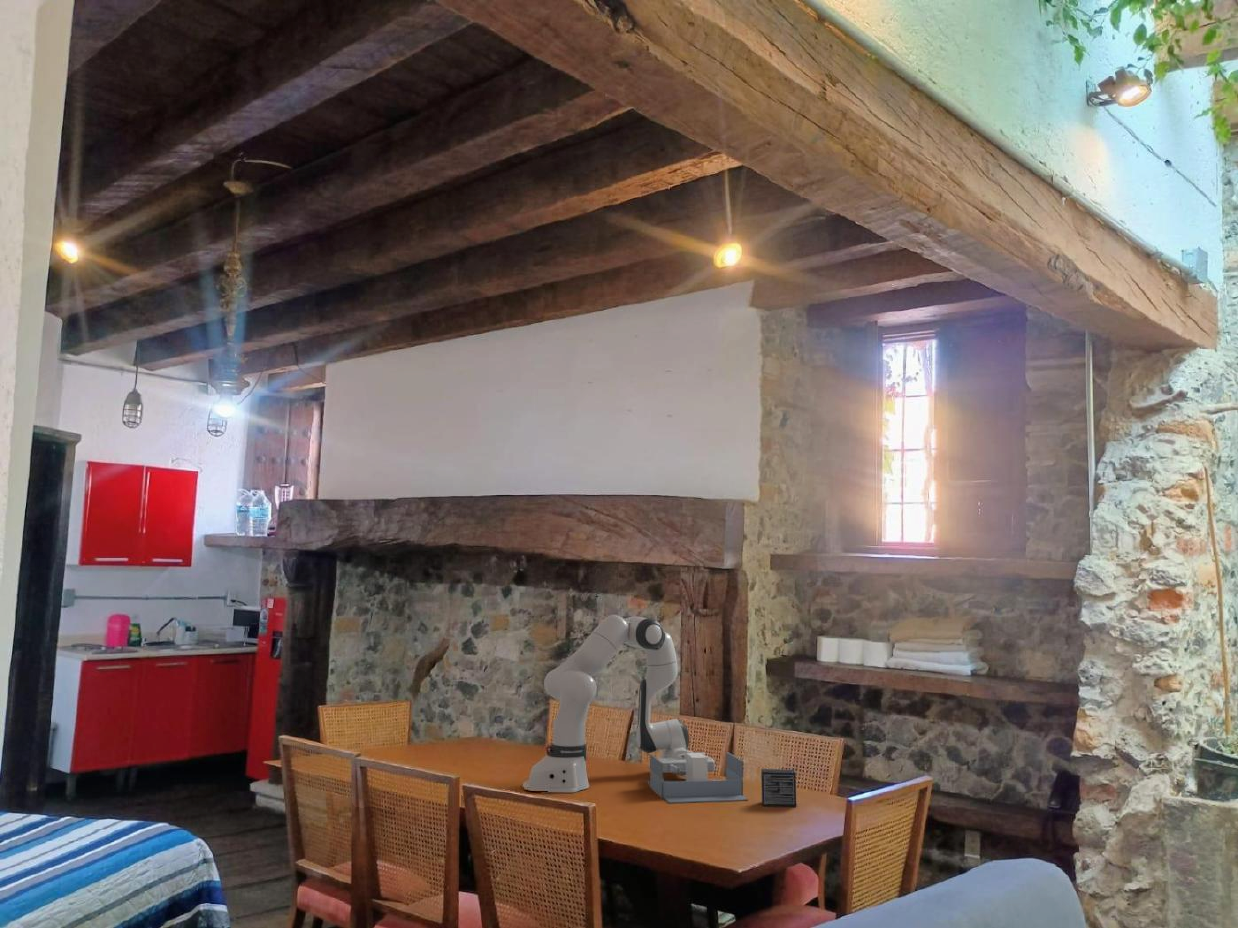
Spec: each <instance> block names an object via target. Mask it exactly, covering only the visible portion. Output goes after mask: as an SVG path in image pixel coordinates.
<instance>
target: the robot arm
mask: <svg viewBox="0 0 1238 928" xmlns="http://www.w3.org/2000/svg"><path fill="white" fill-rule="evenodd" d="M674 644H675V643H674V642H673V639H672V636H671V635H670V633H668V632H666V631H664V629H663V627H662V625H661V623H659V621H657V620H655V619H653V618H646V617H642V616H638V615H637V616H636V615H635V616H624V617H622V616H620V615H617V614H611V615H609V616H607V617H606V618H604V620H603V619H602V621H601V622H600V623H599V624H598V625H597V626H596V627H595V628H594V629H593V631H592V632H591V633H590V634H589V635H588V637H587V638H586V639H585V640H584V642H582V644H581V645H580V646H579V648H578V649H577V650H576V651H575V652H574V653H573V654H571V656H569V657H568V658H567V659H566V660H564V661H563V662H561V664H560V665H558V667H556V668H554V669H551V670H549V672H548V673H547V674H546V676H545V677H544V680H543V686H544V687H543V688H544V690H545V692H546V693H547V694H548V695H549V696H550V697H552V698H553V699H554V700H557V701H560V702H559V707H558V711H557V714H556V716H555V717H554V718H553V721H552V743H550V744H549V743H545V744H544V746H543V748H544V750H546V755H545V756H544V757H543V758H542V759H541V760H539V761H538V762H536V763H535V764H534V765H533V766H532V767H531V770H530V772H529V778H528V780H526V781H524V782H523V783H522V788H523V787H524V788H528V789H530V790H543V791H548V792H547V793H569V794H570V793H576V792H579V791H581V790H582V791H583V790H586V789H588V788H590V783H589V779H588V778H589V777H588V775H587V774H588V773H587V764H586V763H587V757H588V754H587V753H588V750H587V749H588V748H587V744H586V725H587V723H586V722H587V716H588V711H589V709H590V705H591V702H592V701H593V700H594V698H595V696H596V694H597V691H598V687H597V686H598V685H597V682H596V680H595V678H594V676H595V675H597V674H598V673H600V672H602V671H604V669H605V667H607V665H608V664H609V662H610V661H611V660H612V659H613V657H614V656H615V655H616V653H617V652H618V651H619V650H620V648H621V647H622V646H629V647H632V648H634V649H635V648H636V649H643V651H644V653H645V658H646V673H645V676H644V678H643V679H642V680H641V681H640V684H639V689H638V690H639V692H638V705H637V706H638V709H637V710H638V712H637V728H636V733H635V734H636V737H635V739H636V744H637V748H638V749H639V750H640V751H642V752H644V753H646V754H652V753H656V752H657V751H660V750H661V751H660V758H657V759H658V760H659V761H661V762H662V763H663V774H664V773H666V774H667V773H668V774H670V773H671V774H672V773H673V774H675V775H676V776H680V777H681V776H682V777H683V776H686V753H702V754H703V755H705V756H706V757H708V772H715V770H716V762H715V760H714V759H713V758H712V757H710V756H709V755H706V753H705V752H702V751H700V752H699V751H692V750H688V749H689V745H690V735H689V731H688V728H687V726H686V724H685V723H684V722H683V721H682V720H681V719H679V718H673V719H667V720H664V721H658V722H653V723H652V722H651V708H652V707H651V706H652V705H651V704H652V701H653V698H654V697H655V696H656V695H657V694H659V693H660V692H662V691H663V690H665V689H667V688H668V687H670V686H671V685H672V684H673V683H674V682H675V681H676V679H677V677H678V675H679V674H678V673H679V669H678V668H679V666H678V659H677V652H676V649H675V645H674Z"/></svg>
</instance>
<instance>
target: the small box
mask: <svg viewBox="0 0 1238 928" xmlns="http://www.w3.org/2000/svg"><path fill="white" fill-rule="evenodd" d="M760 775H761V805H762V807H777V806H780V807H785V808H796V807H797V806H798V805H797V779H796V775H797V773H796V771H795V769H782V768H781V769H780V768H779V769H778V768H761V774H760ZM780 807H779V808H780Z"/></svg>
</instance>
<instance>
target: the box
mask: <svg viewBox="0 0 1238 928" xmlns="http://www.w3.org/2000/svg"><path fill="white" fill-rule="evenodd" d="M706 756H707V755H706V754H705V755H703V754H702V753H686V775H685V780H686V781H708V779H709V778H708V776H709V775H708V774H709V771H708V757H706Z"/></svg>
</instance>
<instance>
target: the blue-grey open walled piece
mask: <svg viewBox="0 0 1238 928" xmlns="http://www.w3.org/2000/svg"><path fill="white" fill-rule="evenodd" d="M725 754H726V755H725V756H726V762H725V763H726V766H725V779H720V780H715V779H716V778H715V779H714V778H712V779H711V778H710V779H709V778H708V780H713V781H686V779H683V780H682V779H679V780H677V779H676V780H665V779H664V773H663V763H662V762H661V761H659V760H658V759H659V758H657V757H656V756H654V755H653V754H652V753H649V770H650V771H649V772H650V773H649V774H650V775H649V776H650V777H649V778H650V780H648V781H646V783H647V784H648V785H649V787H650V789H651V788H652V789H651V790H652V791H653V792H655V794H657V795H658V796H659V798H660V799H664V800H665V801H666V802H667V803H668V804H690V803H692V804H693V803H714V802H715V803H718V802H721V803H722V802H746V800H748V801H749V799H748V798H747V797H745V796H744V760H742V759H740V758H739V757H737V756H736V755H734V754H732V753H730V752H728V751H726V753H725Z"/></svg>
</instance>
